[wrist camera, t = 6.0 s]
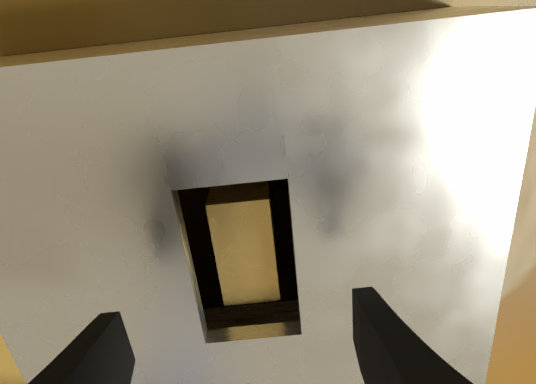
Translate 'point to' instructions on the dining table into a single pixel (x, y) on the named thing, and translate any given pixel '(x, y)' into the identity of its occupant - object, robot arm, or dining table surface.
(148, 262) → the cash box
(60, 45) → the dining table surface
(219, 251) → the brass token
